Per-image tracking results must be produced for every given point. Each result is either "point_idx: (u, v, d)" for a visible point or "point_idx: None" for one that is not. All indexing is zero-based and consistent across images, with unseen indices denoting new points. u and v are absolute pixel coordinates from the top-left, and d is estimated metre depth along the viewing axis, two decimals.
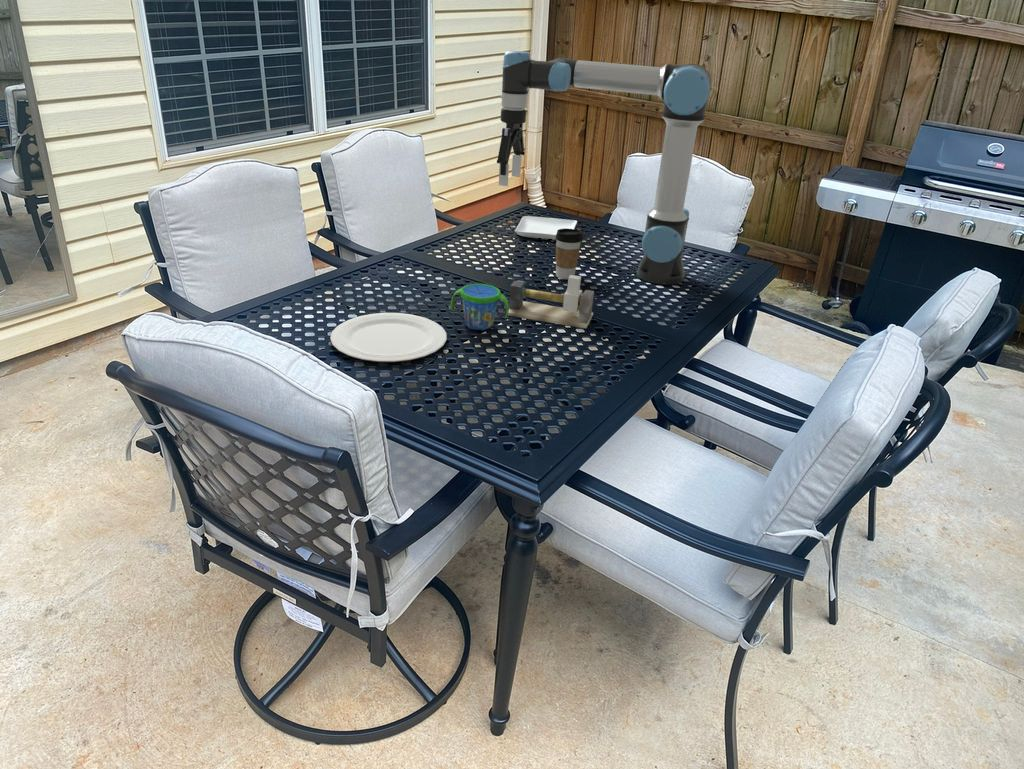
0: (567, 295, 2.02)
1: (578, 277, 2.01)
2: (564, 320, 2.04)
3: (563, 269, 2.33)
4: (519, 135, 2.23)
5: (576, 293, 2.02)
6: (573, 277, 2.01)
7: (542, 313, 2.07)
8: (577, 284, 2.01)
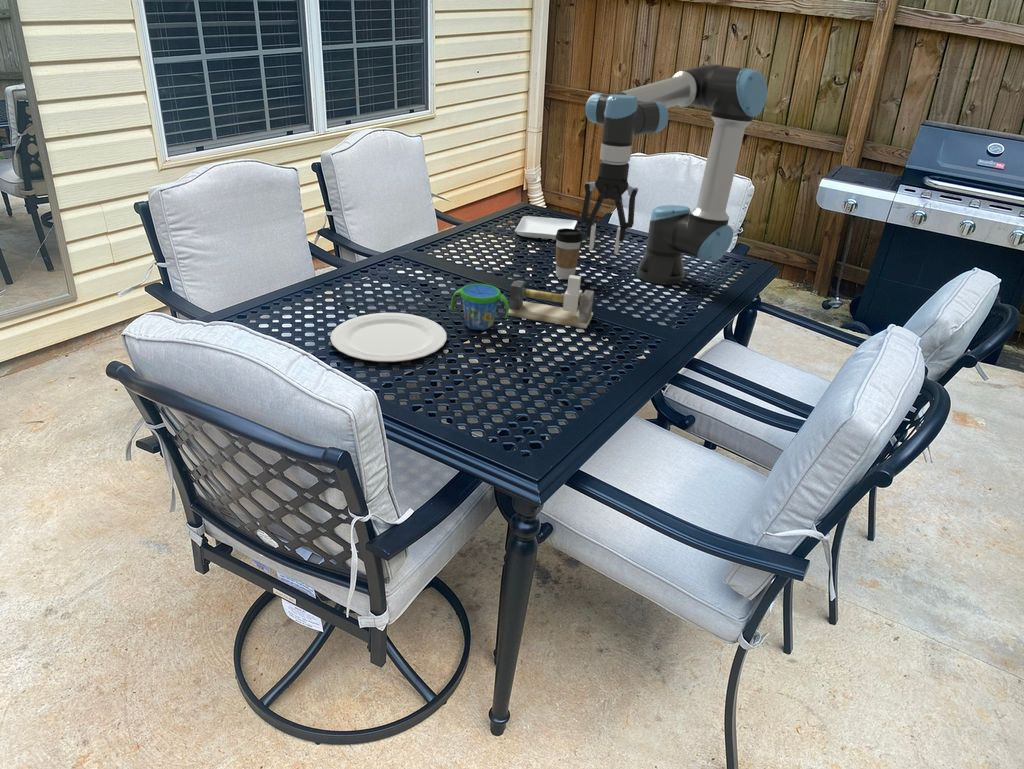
0: (567, 295, 2.02)
1: (578, 277, 2.01)
2: (564, 320, 2.04)
3: (563, 269, 2.33)
4: (614, 195, 1.87)
5: (576, 293, 2.02)
6: (573, 277, 2.01)
7: (542, 313, 2.07)
8: (577, 284, 2.01)
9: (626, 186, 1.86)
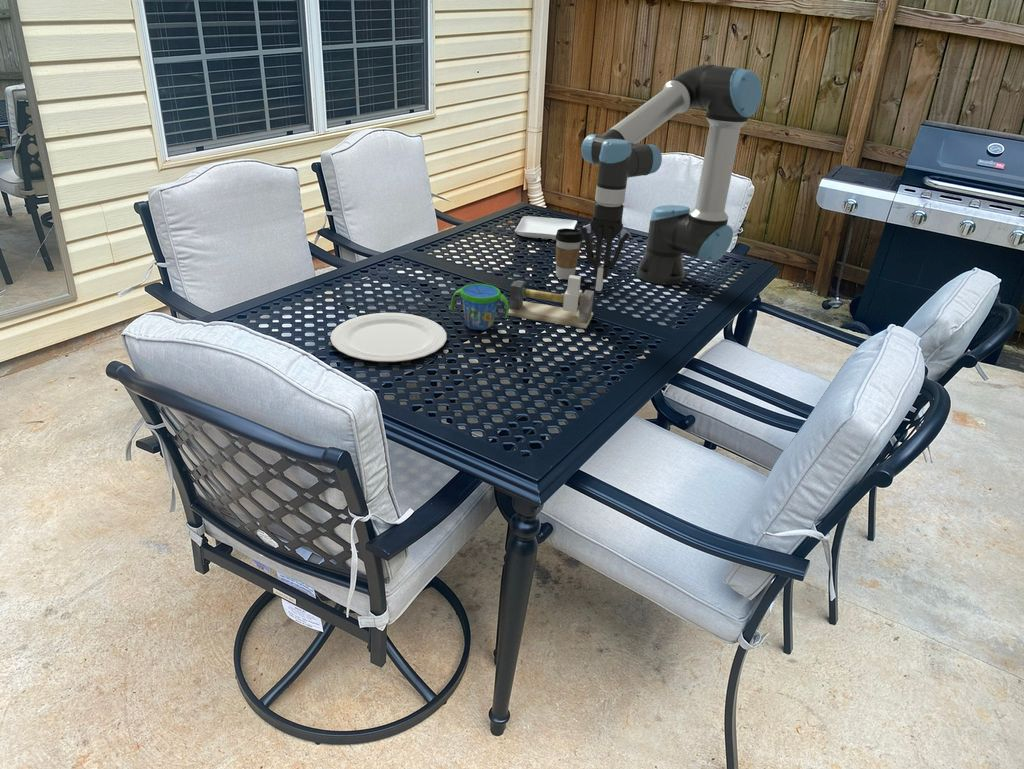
0: (567, 295, 2.02)
1: (578, 277, 2.01)
2: (564, 320, 2.04)
3: (563, 269, 2.33)
4: (607, 235, 1.92)
5: (576, 293, 2.02)
6: (573, 277, 2.01)
7: (542, 313, 2.07)
8: (577, 284, 2.01)
9: (620, 228, 1.91)
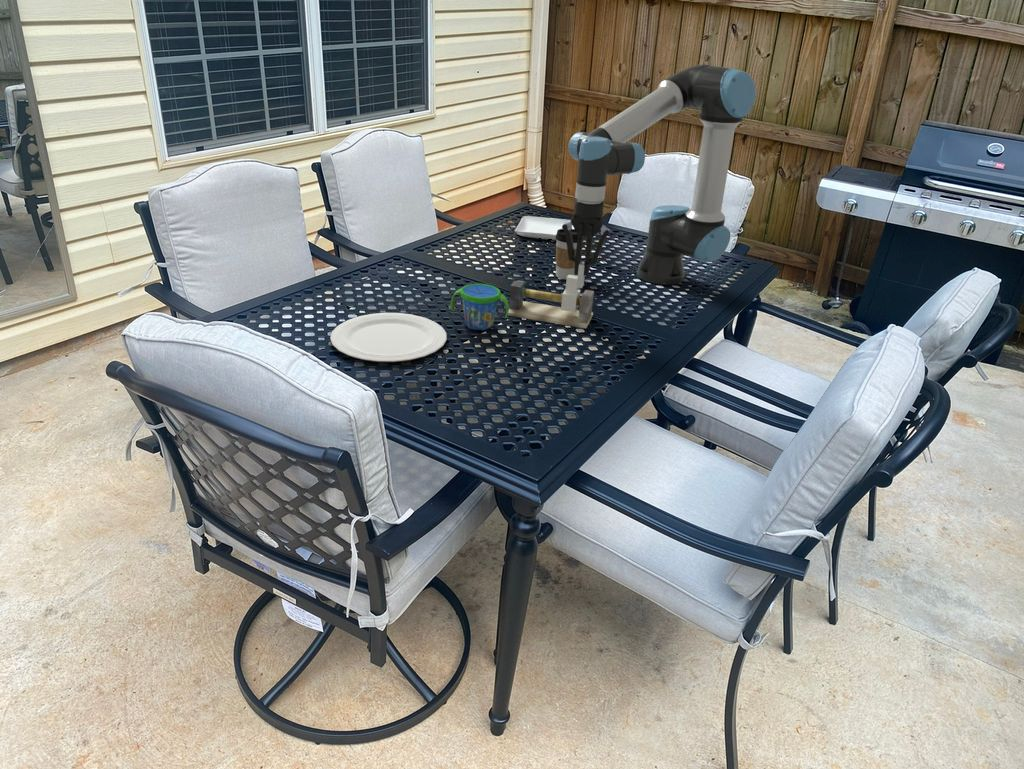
0: (565, 295, 2.02)
1: (576, 277, 2.01)
2: (564, 320, 2.04)
3: (563, 269, 2.33)
4: (588, 232, 1.93)
5: (574, 293, 2.02)
6: (571, 277, 2.01)
7: (542, 313, 2.07)
8: (575, 284, 2.01)
9: (601, 225, 1.92)
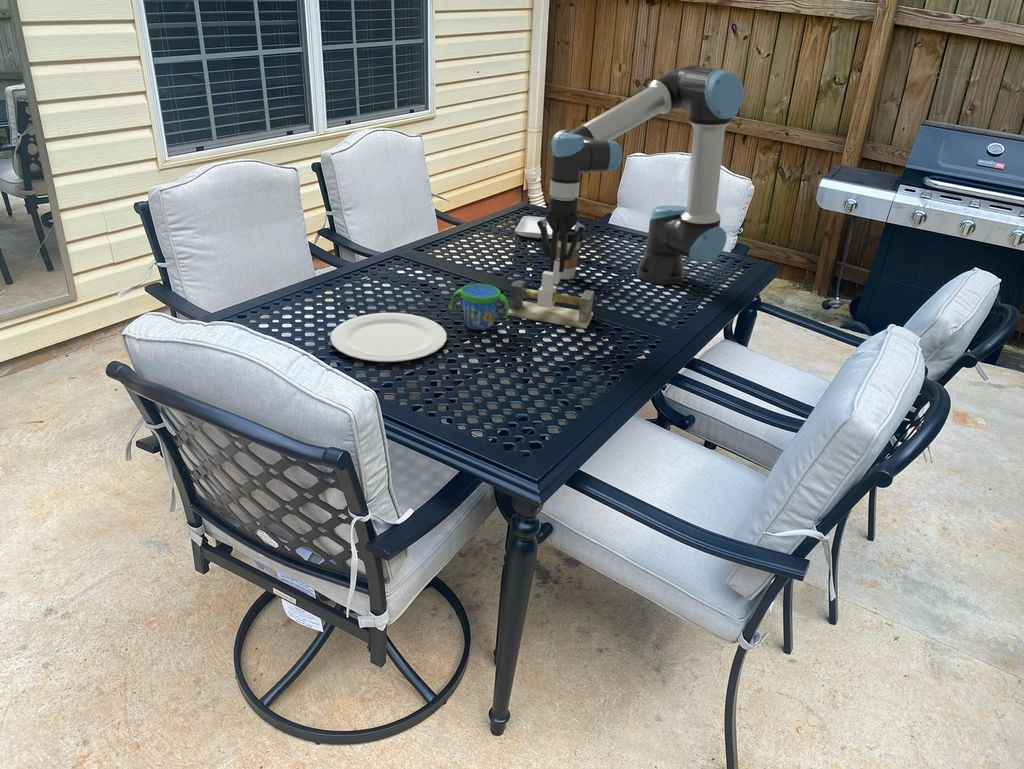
0: (541, 291, 2.03)
1: (552, 273, 2.03)
2: (564, 320, 2.04)
3: None
4: (562, 228, 1.94)
5: (550, 289, 2.03)
6: (547, 273, 2.02)
7: (542, 313, 2.07)
8: (551, 280, 2.02)
9: (575, 221, 1.93)
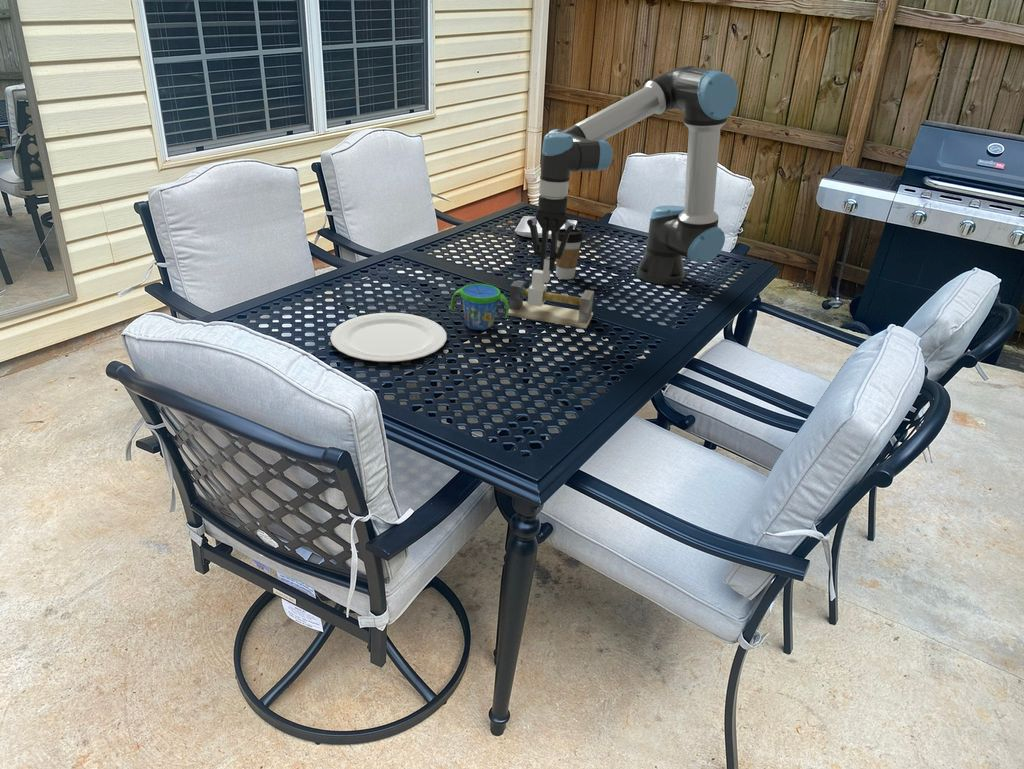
0: (531, 289, 2.04)
1: (542, 271, 2.03)
2: (564, 320, 2.04)
3: (563, 269, 2.33)
4: (552, 227, 1.95)
5: (540, 287, 2.04)
6: (537, 271, 2.03)
7: (542, 313, 2.07)
8: (541, 278, 2.03)
9: (565, 220, 1.94)
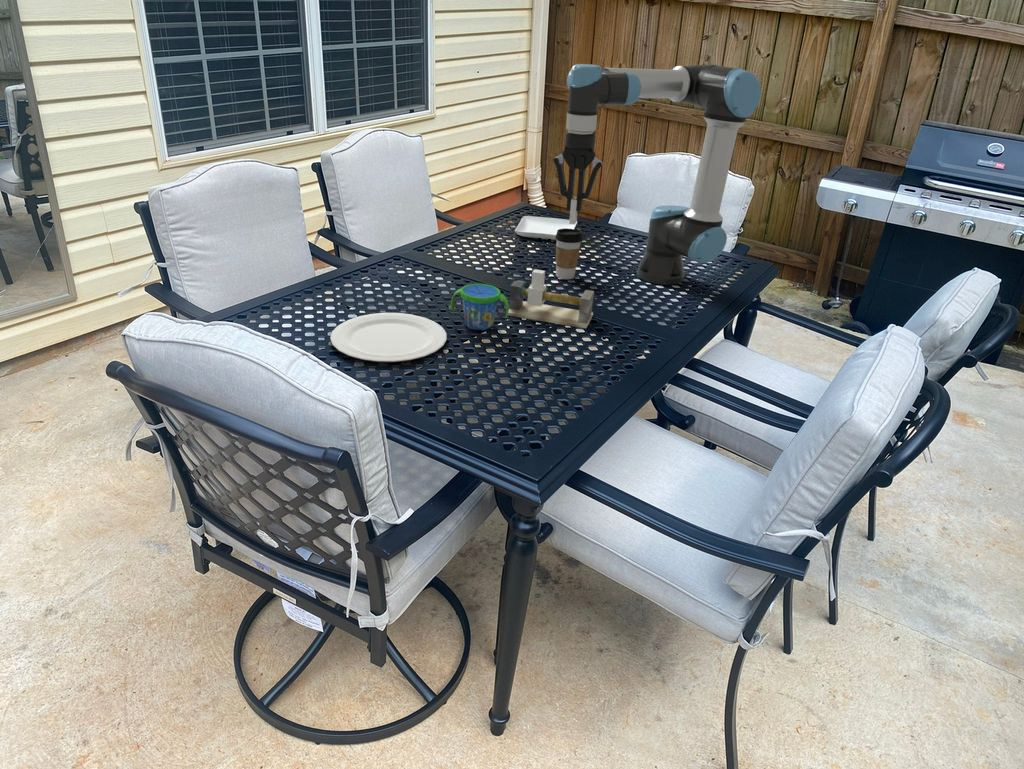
0: (531, 289, 2.04)
1: (542, 271, 2.03)
2: (564, 320, 2.04)
3: (563, 269, 2.33)
4: (579, 164, 1.88)
5: (540, 287, 2.04)
6: (537, 271, 2.03)
7: (542, 313, 2.07)
8: (541, 278, 2.03)
9: (593, 157, 1.87)
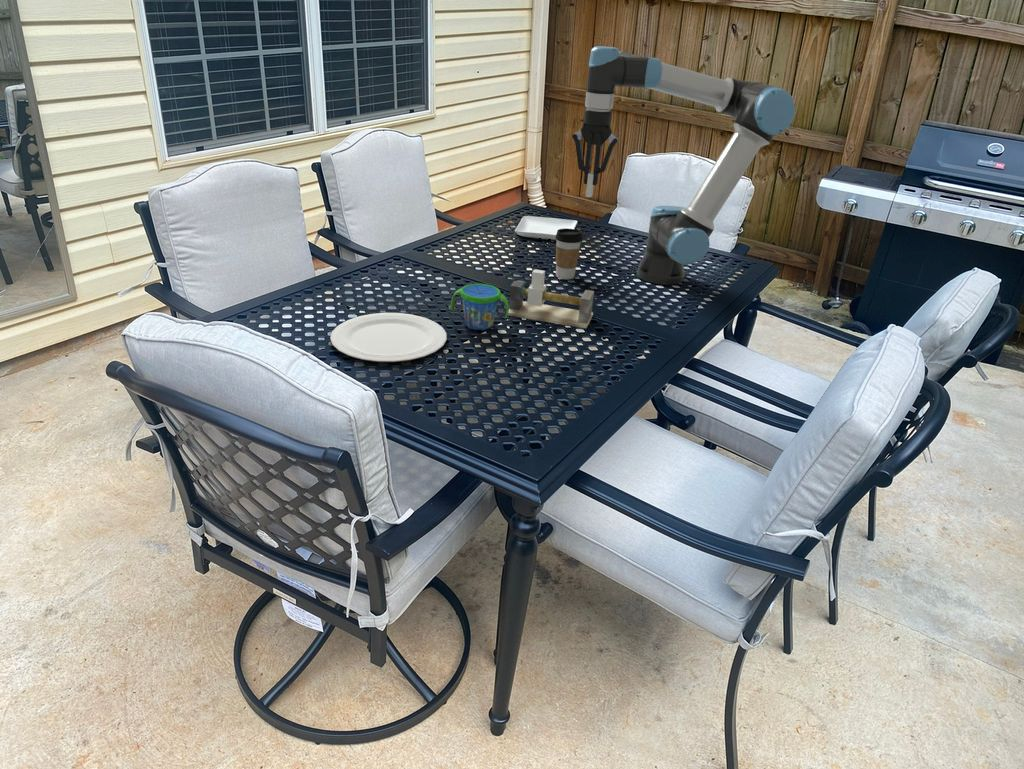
0: (531, 289, 2.04)
1: (542, 271, 2.03)
2: (564, 320, 2.04)
3: (563, 269, 2.33)
4: (597, 140, 2.02)
5: (540, 287, 2.04)
6: (537, 271, 2.03)
7: (542, 313, 2.07)
8: (541, 278, 2.03)
9: (609, 133, 2.01)
